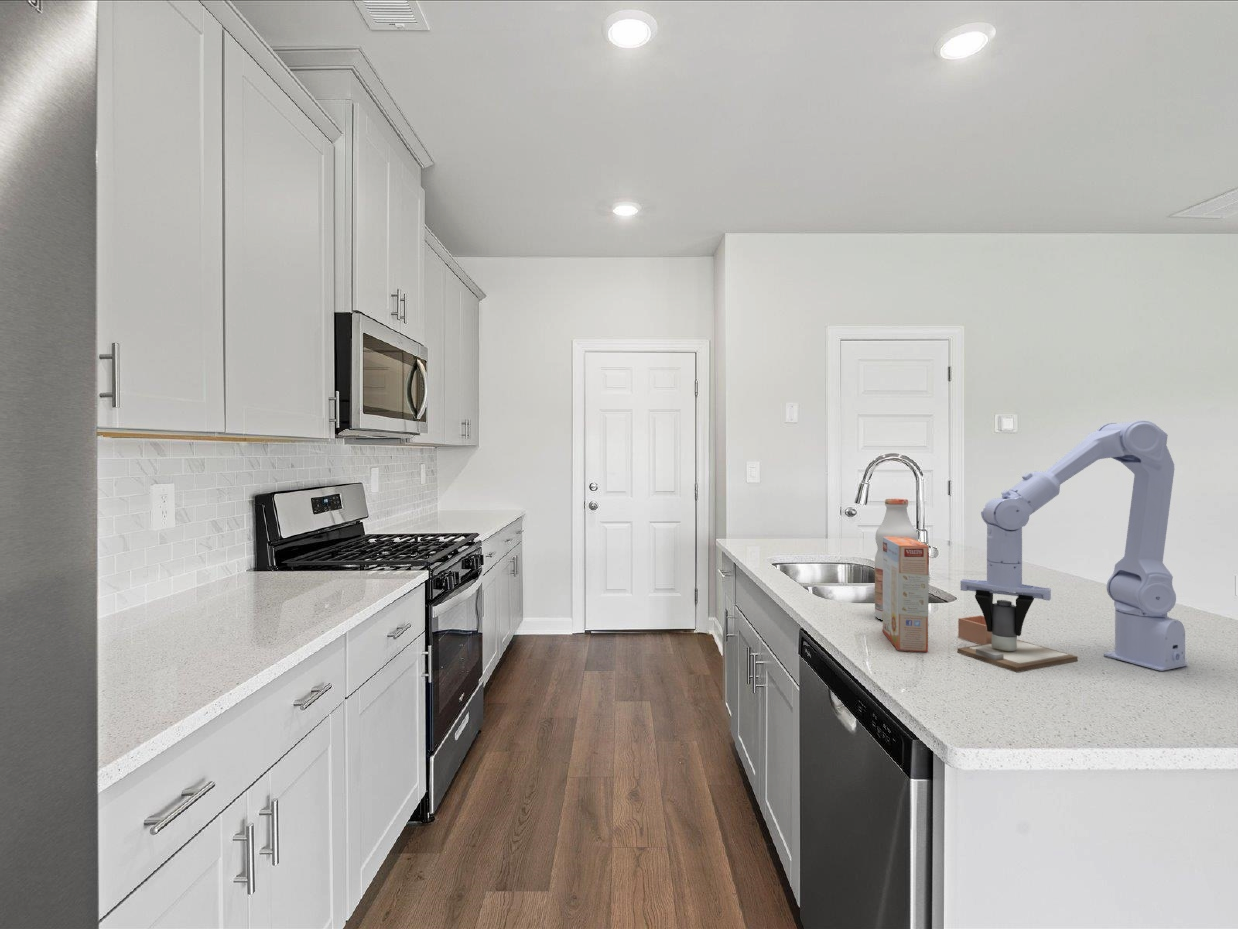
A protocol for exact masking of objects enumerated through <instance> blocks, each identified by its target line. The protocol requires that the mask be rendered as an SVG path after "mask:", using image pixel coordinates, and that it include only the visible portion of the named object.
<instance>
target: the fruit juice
mask: <svg viewBox="0 0 1238 929" xmlns="http://www.w3.org/2000/svg"><path fill="white" fill-rule="evenodd" d="M884 506H885V507H886V510H885V514H884V517H883V520H882V522H881V523H880V526H879V527H878V528H877V530H876V531H875V535H874V536H875V544H876V548H877V551H876V553H875V555H874V614H875V615H874V616H875V618H876V617H877V618H878V619H881V620H883V537H909V538H912V539H914V540H916V541H918V542H919V534H918V531H917V530H916V529H915V527H914V526H913V524H912V523H911V520H910V517H909V514H908V510H907V508H908V507H909V500H908V499H907V498H886V499H885V500H884ZM877 618H876V619H877ZM878 619H877V620H878Z"/></svg>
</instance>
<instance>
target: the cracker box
mask: <svg viewBox="0 0 1238 929" xmlns="http://www.w3.org/2000/svg"><path fill="white" fill-rule="evenodd" d="M929 557H930V546H929V545H927V544H925V543H923V542H920V541H919V540H918V541H916V540H914V539H912V538H909V537H883V621H882V628H881V629H882V633H883V634H884V635H885V636H886V637H887V638H888V641H890V642H891V644H892V645H893V646H894V648H896V650H897V651H903V652H914V653H915V652H916V653H929V594H930V592H929V590H930V588H929V584H930V581H929V573H930V572H929V570H930V569H929V568H930V566H929V565H930V558H929Z"/></svg>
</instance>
